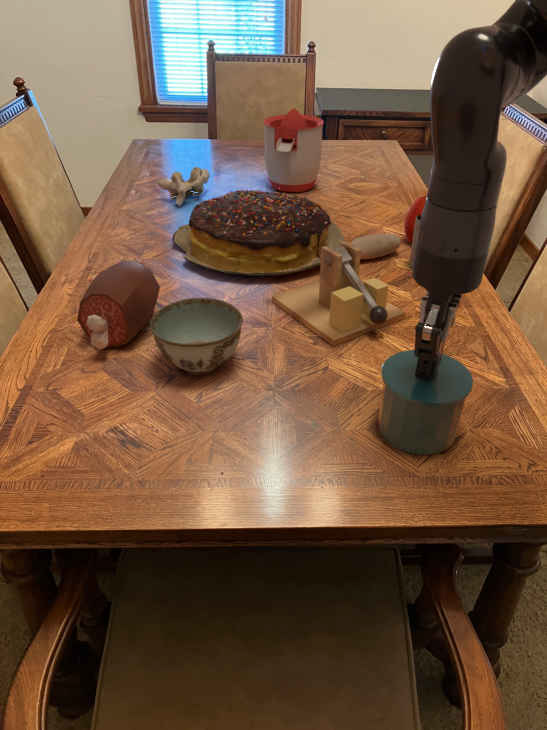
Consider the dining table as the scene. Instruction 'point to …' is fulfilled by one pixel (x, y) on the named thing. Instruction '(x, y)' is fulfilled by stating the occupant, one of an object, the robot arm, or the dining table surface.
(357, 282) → the ball tipped lever
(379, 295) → the yellow rectangular block
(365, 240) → the stone
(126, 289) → the meat
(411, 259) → the gray cylinder
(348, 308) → the pale yellow oblong block
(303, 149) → the citrus juicer
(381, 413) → the crock
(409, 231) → the red egg
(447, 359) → the crock lid
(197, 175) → the tan ginger root
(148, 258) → the dining table surface
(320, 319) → the wooden lever switch base
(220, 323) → the bowl
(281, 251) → the cake
